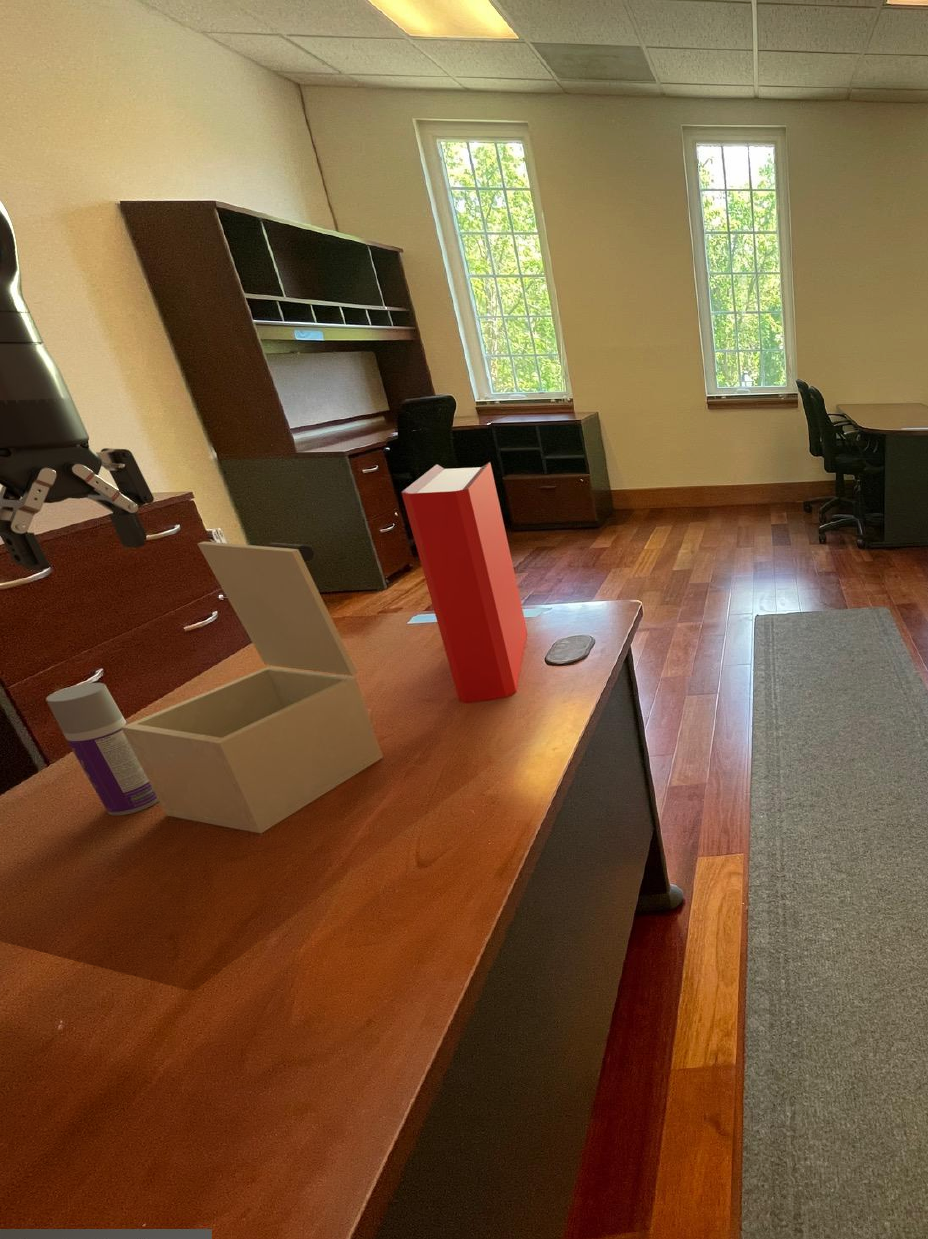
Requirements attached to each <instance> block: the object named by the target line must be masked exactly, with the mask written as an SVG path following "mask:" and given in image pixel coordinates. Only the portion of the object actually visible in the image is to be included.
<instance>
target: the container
mask: <svg viewBox="0 0 928 1239" xmlns="http://www.w3.org/2000/svg"><path fill="white" fill-rule="evenodd" d="M45 701H46V703H47V705H48V707H49V708H50V710H51V713H52V714H53V716H54V718H55V720H56V722H57V724H58V726H59V728H60V730H61V731H62V734H63V736H64V738H65V740H66V742H67V743H68V745H69V747H70V749H71V751H72V752H73V753H74V756H75V757H76V759H77V761H78V763H79V765H80V767H81V768H82V770H83V771H84V773H85V775H86V777H87V779H88V780H89V782H90V784H91V786H92V788H93V789H94V791H95V793H96V794H97V796H98V798H99V799H100V802H101V804H102V805H103V807H104V808H105V810H106V812H107V813H108V815H110V816H114V817H115V816H125V815H130V814H135V813H138V812H140V811H143V810H146V809H148V808H150V807H152V806H153V805H155V804H157V803H159V802H160V801H159V800H158V798H157V796H156V794H155V792H154V790H153V788H152V786H151V784H150V782H149V780H148V779H147V777H146V775H145V773H144V771H143V769H142V767H141V765H140V763H139V761H138V759H137V758H136V756H135V754H134V752H133V750H132V748H131V746H130V744H129V742H128V740H127V738H126V737H125V735H124V733H123V731H122V729H121V727H122V726H125V725H127V724H128V722H127V721H126V719H125V717H124V716H123V714H122V712H121V711H120V708H119V707H118V705H117V703H116V701H115V700H114V698H113V696H112V694H111V692H110V690H109V689H108V687H107V685H106V684H105V683H102V682H88V683H82V684H77V685H73V686H69V687H65V688H63V689H60V690H57V691H55V692H53V693H51V694H48V696H46V698H45Z"/></svg>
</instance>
